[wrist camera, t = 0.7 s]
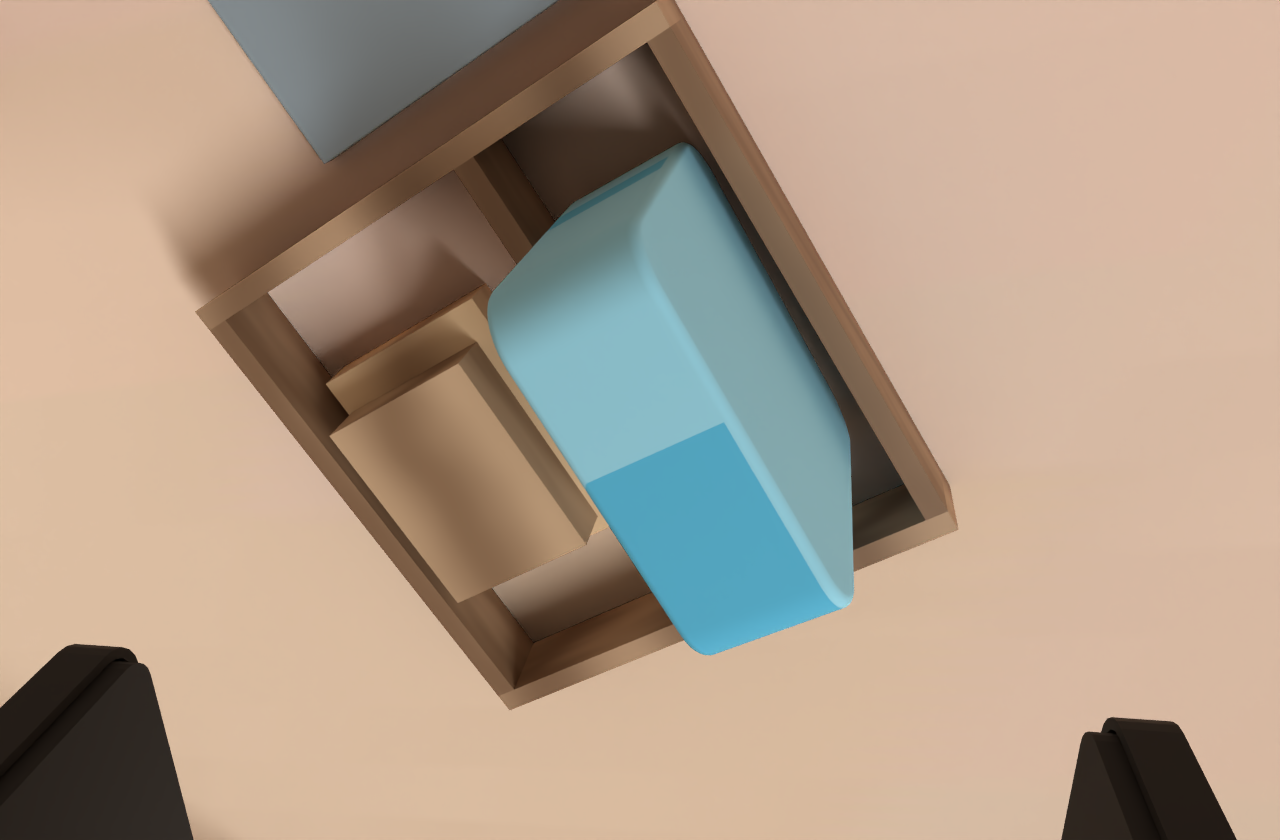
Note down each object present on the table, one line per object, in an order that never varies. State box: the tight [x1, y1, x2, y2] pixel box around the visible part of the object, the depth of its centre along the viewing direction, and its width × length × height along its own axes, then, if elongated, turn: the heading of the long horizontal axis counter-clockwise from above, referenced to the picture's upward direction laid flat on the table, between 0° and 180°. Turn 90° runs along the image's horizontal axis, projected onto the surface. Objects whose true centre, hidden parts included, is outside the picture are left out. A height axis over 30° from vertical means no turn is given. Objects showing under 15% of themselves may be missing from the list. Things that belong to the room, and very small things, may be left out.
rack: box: [195, 0, 958, 710], centre depth 37 cm, size 19×20×3 cm
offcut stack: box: [326, 284, 609, 603], centre depth 39 cm, size 7×10×4 cm
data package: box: [487, 142, 854, 655], centre depth 31 cm, size 12×4×12 cm, turn 30°
